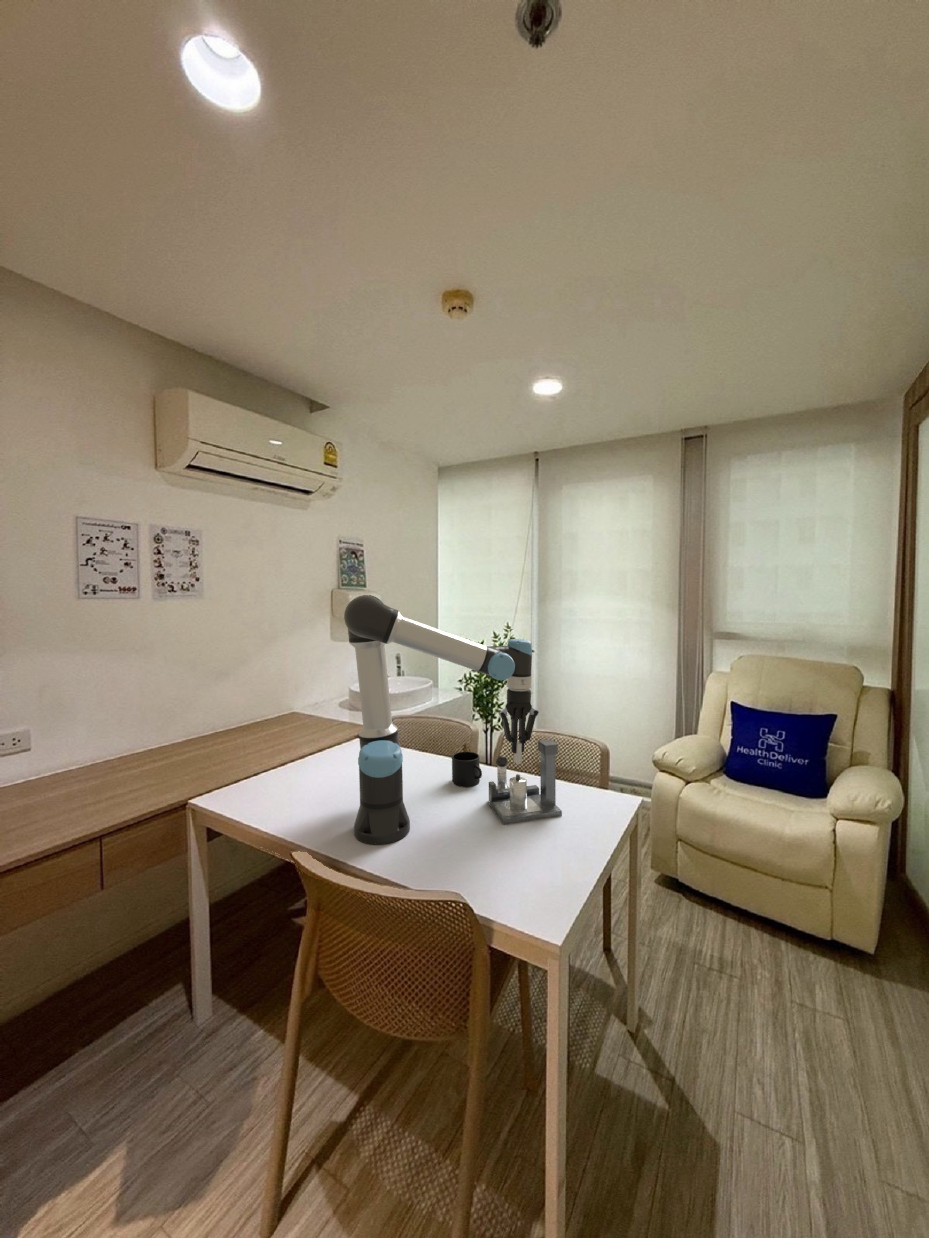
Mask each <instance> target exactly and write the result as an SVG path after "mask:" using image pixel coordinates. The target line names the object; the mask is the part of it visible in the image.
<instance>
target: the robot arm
mask: <svg viewBox="0 0 929 1238" xmlns="http://www.w3.org/2000/svg"><path fill="white" fill-rule="evenodd" d="M343 613H344V614H343V619H344V624H345V626H346V628H347V635H348V641H349V642H348V644H349V645H351V646H352V647H353V648H354V650H355V651H354V652H355V660H356V669H357V678H358V679H357V680H358V689H359V697H360V707H361V716H362V725H363V726H362V728H361V729H360V731H359V732H358V739H359V740H358V741H359V747H360V750H359V752H358V753H359V754H358V757H357V758H358V759H357V760H358V762H357V763H358V773H359V775H358V777H359V778H358V779H359V807H358V812H357V814H356V818H355V821H354V823H353V824H354V825H353V832H354V834H353V835H354V837H355V838H356V840H357V841H359V842H361V843H364V844H366V845H367V844H368V845H387V844H391V843H395V842H397V841H400V840H401V839H403V838H405V837H406V836H407V835H408V834H409V833H410V831H411V823H410V822H411V821H410V817H409V814H408V811H407V808H406V806H405V803H404V795H403V794H404V792H403V790H404V787H403V786H404V785H403V783H404V781H403V760H404V759H403V758H404V756H403V753H402V748H401V745H400V736H399V730H398V729H399V728H398V726H397V725H395V724H394V723H393V716H392V708H391V707H392V706H391V698H390V686H389V679H388V669H387V668H388V665H387V658H386V647H385V645H389V644H391V643H394V644H397V645H401V646H404V647H406V648H409V649H412V650H415V651H418V652H421V653H423V654H426V655H430V656H432V657H434V658H437V659H441V660H444V661H447V662H450V663H452V664H455V665H458V666H462V667H464V668H466V669H469V670H472V671H473V672H474V671H475V672H478V673H481V674H484V675H487V676H490V677H491V678H492V679H494V680H497V681H506V680H507V681H506V687H507V689H506V704H505V708H504V709H502V710H499V711H498V712H497V713H498V715H499V716H500V718H501V723H502V727H503V731H504V736H505V740H506V741H508V743H511V745H510V746H511V747H510V748H511V749H510V751H511V753H512V754H513V763H515V764H516V765H521V764H522V754H523V753H524V752H525V745H526V743H527V742H528V741H529V742H530V741H531V737H532V733H533V730H534V725H535V721H536V718H537V716H538V715H539V710H537V709H535V708H533V706H532V703H531V702H532V690H531V688H532V668H533V667H532V662H533V661H532V660H533V646H532V642H531V641H530V640H528V639H524V638H521V639H520V638H517V639H516V638H515V639H512V638H511V639H509V640H508V641H507V644H506V645H505V646H494V645H493V646H490V645H488V646H487V645H484V644H481V643H479V642H475V641H473V640H470V639H467V638H464V637H462V636H458V635H457V634H453V633H450V632H448V631H445V630H442V629H440V628H437V627H434V626H431V625H429V624H426V623H423V622H421V621H417V620H414V619H412V618H409V617H407V616H403V615H402V613H401V612H400V610H398V609H397V608H396V609H395V608H392V607H390V606H388V605H386V604H385V603H384V602H383V601H382V600H381V599H380V598H379V597H377V596H376V595H375V596H374V595H371V594H363V595H359V596H356V597H355V598H353V599H351V600H350V601H349V602H348V604H347V605H346V607H345V609H344V612H343ZM528 714H529V715H528ZM508 715H509V716H510V723H511V724H510V725H511V726H510V725H509V718H508ZM527 716H528V718H527Z"/></svg>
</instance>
